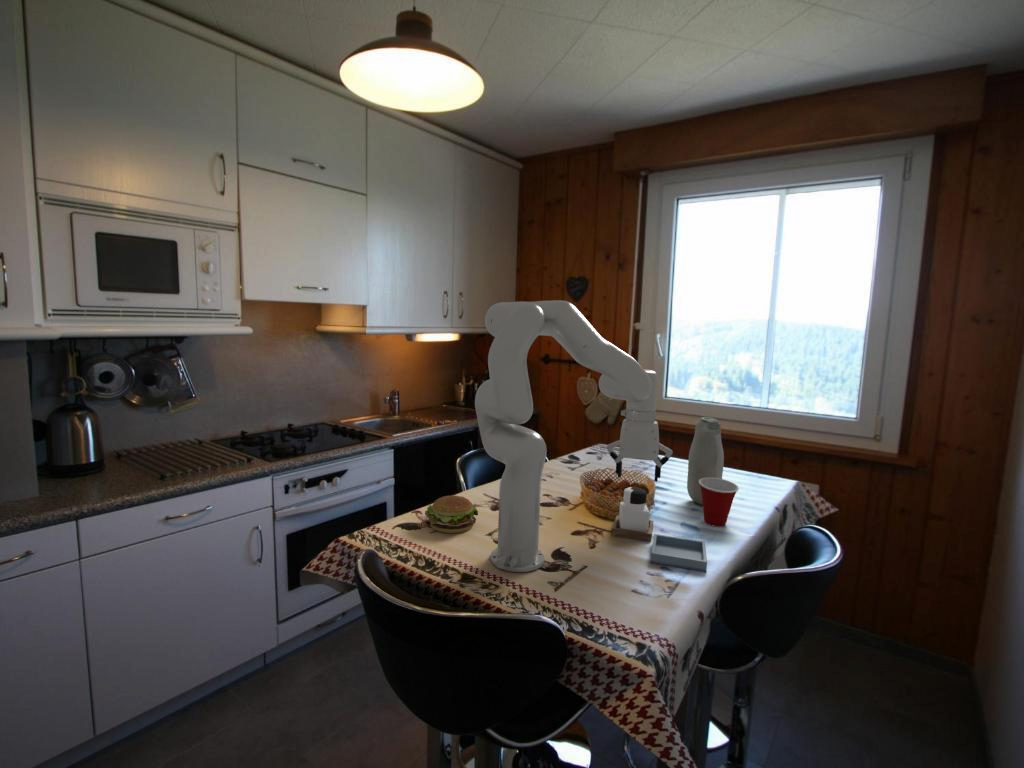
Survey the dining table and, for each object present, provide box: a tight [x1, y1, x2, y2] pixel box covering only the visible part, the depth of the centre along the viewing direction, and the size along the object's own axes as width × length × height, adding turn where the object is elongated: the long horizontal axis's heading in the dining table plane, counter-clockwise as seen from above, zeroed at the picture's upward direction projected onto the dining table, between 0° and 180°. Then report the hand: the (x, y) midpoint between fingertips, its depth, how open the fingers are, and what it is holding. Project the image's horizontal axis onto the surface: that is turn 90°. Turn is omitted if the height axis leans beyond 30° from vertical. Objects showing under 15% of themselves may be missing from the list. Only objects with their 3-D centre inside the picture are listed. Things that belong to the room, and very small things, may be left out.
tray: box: [650, 533, 708, 573], centre depth 128 cm, size 12×12×2 cm
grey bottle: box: [686, 416, 725, 506], centre depth 168 cm, size 10×10×28 cm
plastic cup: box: [699, 478, 740, 527], centre depth 151 cm, size 11×11×12 cm
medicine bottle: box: [618, 486, 650, 533], centre depth 143 cm, size 7×7×12 cm
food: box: [424, 494, 479, 534], centre depth 142 cm, size 14×14×8 cm
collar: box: [611, 515, 654, 542], centre depth 144 cm, size 10×10×2 cm
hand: (637, 478), depth 142 cm, fingers open, 9 cm apart
